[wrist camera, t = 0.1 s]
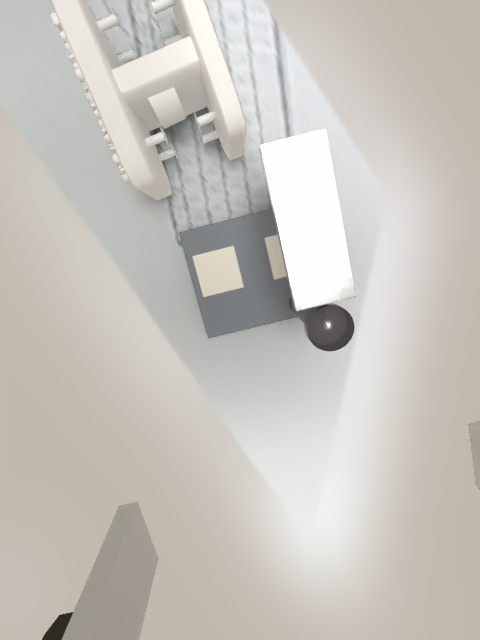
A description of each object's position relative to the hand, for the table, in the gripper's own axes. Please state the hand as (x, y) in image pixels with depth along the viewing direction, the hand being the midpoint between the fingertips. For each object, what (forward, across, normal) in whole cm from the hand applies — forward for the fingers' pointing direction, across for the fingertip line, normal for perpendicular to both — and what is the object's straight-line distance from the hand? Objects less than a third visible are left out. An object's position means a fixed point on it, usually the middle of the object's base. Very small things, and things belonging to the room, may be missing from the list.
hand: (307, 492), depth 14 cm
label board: (+28, +1, +6) cm, 29 cm away
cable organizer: (+28, -3, +24) cm, 37 cm away
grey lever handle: (+16, +5, +8) cm, 18 cm away
